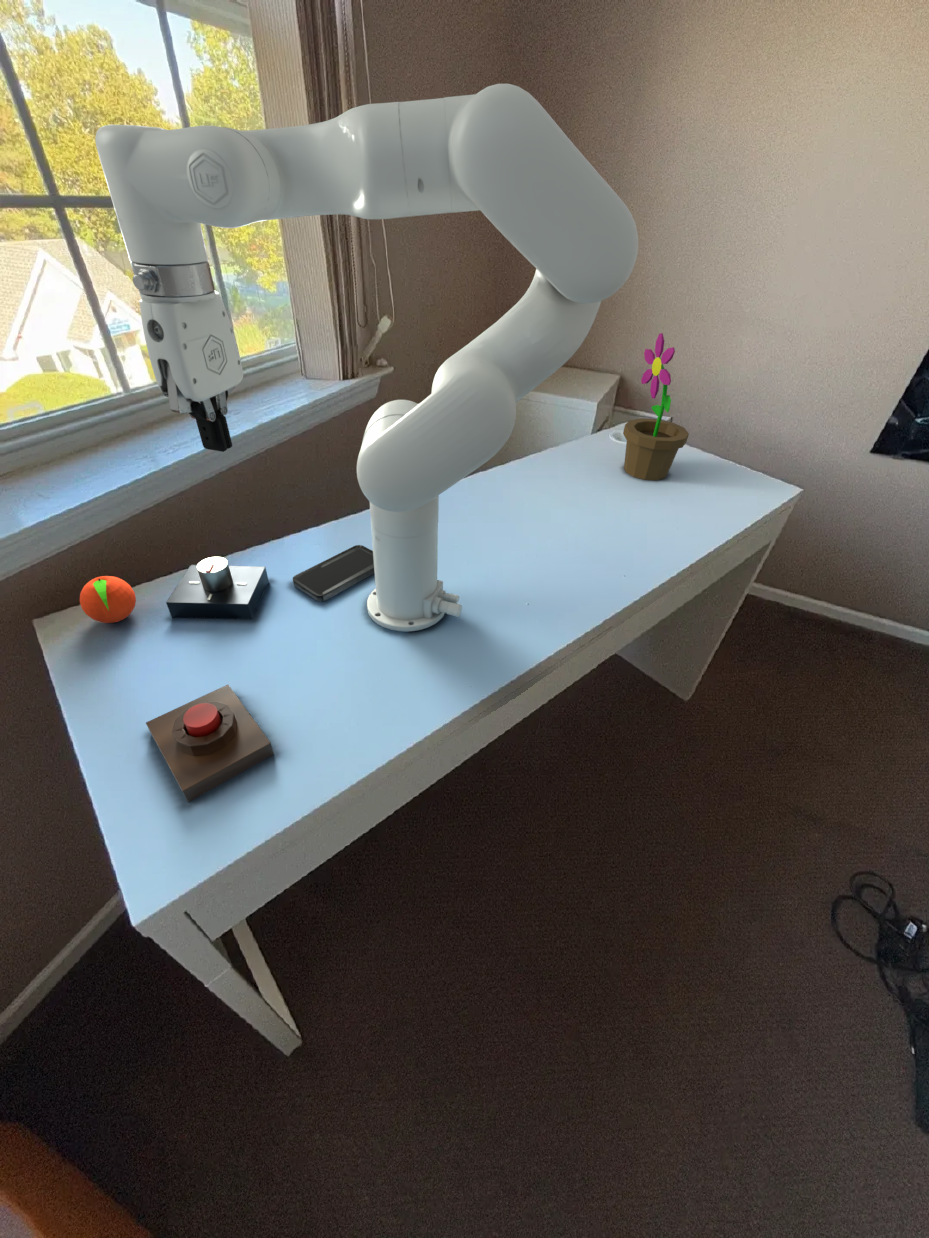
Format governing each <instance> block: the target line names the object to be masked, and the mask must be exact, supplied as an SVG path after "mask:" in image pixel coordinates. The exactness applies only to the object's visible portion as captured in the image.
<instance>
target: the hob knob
mask: <svg viewBox="0 0 929 1238" xmlns="http://www.w3.org/2000/svg"><path fill="white" fill-rule="evenodd" d="M196 565H197V570H198V573H199V576H200V579H201V583H202V586H203V588H204V589H205V590H207V591H211V592H217V591H222V590H225V589H227V588H228V587H230V586H231V585H232V583H233V579H232V576H231V572H230V568H229V566H230V564H229V562H228V560H227V559H226V558H225V557H222V556H211V557H207V558H204V559H202V560H201V561H199V562H198V563H197V564H196Z"/></svg>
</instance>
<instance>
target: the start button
mask: <svg viewBox="0 0 929 1238" xmlns="http://www.w3.org/2000/svg"><path fill="white" fill-rule="evenodd" d="M183 721H184V724H185V726H186V728H187V731H188V733H189V734H190V735H192V736H194V737H204V736H207V735H209V734H211V733H213V732H215V731H216V730H217V729H218V728H219V726H220V723H221V719H220V716H219V713H218V711H217V708H216V707H215V706H214V705H212V704H209V703H202V704H198V705H195V706H193V707H191V708H190V709H189V710H188V711H187V712H186V713H185V715H184V717H183Z"/></svg>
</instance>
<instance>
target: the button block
mask: <svg viewBox="0 0 929 1238" xmlns="http://www.w3.org/2000/svg"><path fill="white" fill-rule="evenodd" d="M202 703H209V704H212V705H214V706H215V707H216V708H217V711H218V713H219V716H220V719H221V723H220V726H219V728H218V729H217V730H216V731H215V732H213V733H211V734H209V735H207V736H204V737H194V736H192V735H190V734H189V733H188V731H187V728H186V726H185V724H184V721H183V717H184V715H185V713H186V712H187V711H188V710H189V709H190V708H191V707H193V706H195V705H198V704H202ZM145 725H146V727H147V729H148V731H149V733H150V735H151V736H152V739H153V741H154V742H155V744H156V746H157V749H159V751H160V753H161V755H162V757H163V759H164V760H165V762H166V765H167V767H168V768H169V770H170V772H171V774H172V775H173V778H174V779H175V781H176V783H177V785H178V787H179V789H180V790H181V792H182V795H183V797H184V798H185V800H186V802H187V803H190V802H192V801H193V800H195V799H197V798H199V797H200V796H202V795H204V794H206V793H208V792H210V791H211V790H213V789H215V788H216V787H218V786H221V785H223V784H224V783H225V782H228V781H229V780H231V779H232V778H234V777H236V776H238V775H240V774H242V773H243V772H245V771H247V770H249V769H251V768H252V767H254V766H256V765H258V764H260V763H261V762H263V761H265V760H266V759H268V758H271V757H272V756H274V755H275V752H274V748H273V745H272V743H271V741H270V739H269V738H268V737H267V736H266V734H265V732H264V731H263V730H262V728H261V727H260V726H259V724H258V722H256V720H255V719H254V718H253V716H252V715H251V713H250V712H249V711H248V709H247V708H246V707H245V705H244V704H243V703H242V700H240V698H239V697H238V695H237V694H236V693H235V691H234V690H233V689H232V687H231V686H230V684H226V685H224V686H221V687H220V688H217V689H214V690H213V691H211V692H208V693H207V694H204V695H201V696H199V697H197V698H195V699H193V700H192V701H189V702H187V703H185V704H183V705H180V706H178V707H176V708H174V709H172V710H170V711H167V712H166V713H163V714H161V715H159V716H157V717H155V718H153V719H151V720H148V721H146V722H145Z"/></svg>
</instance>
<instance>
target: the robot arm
mask: <svg viewBox="0 0 929 1238" xmlns="http://www.w3.org/2000/svg"><path fill="white" fill-rule="evenodd" d="M94 139H95V140H94V141H95V146H96V151H97V155H98V157H99V162H100V165H101V169H102V172H103V175H104V178H105V182H106V186H107V189H108V192H109V195H110V198H111V203H112V205H113V209H114V212H115V215H116V219H117V223H118V225H119V226H118V227H119V229H120V232H121V235H122V238H123V242H124V245H125V249H126V252H127V255H128V260H129V261H130V266H131V269H132V272H133V276H132V283H133V285H134V287H135V288H136V289H137V290H138V293H139V297H140V299H139V300H138V301H139V310H140V318H141V324H142V330H143V335H144V340H145V344H146V348H147V353H148V357H149V362H150V365H151V368H152V371H153V375H154V379H155V380H156V383H157V386H158V388H159V391H160V392H161V394H162V395H163V396H164V397H166V398H168V403H169V409H170V411H171V412H172V413H178V414H188V415H189V416H190V418H191V419H194V420H195V422H196V426H197V429H198V433H199V436H200V437H199V438H200V441H201V444H202V447H203V448H204V450H210V451H216V452H222V453H224V452H226V451H228V450H229V449H231V448H232V447H233V442H232V438H231V434H230V430H229V426H228V421H227V417H226V416H227V415H228V413H229V412H228V411H229V410H228V402H227V401H228V397H229V395H230V394H231V393H232V392H233V391H234V390H235V389H236V387H237V386H238V385H239V384H240V383H241V382H242V381H243V379H244V369H243V364H242V359H241V355H240V352H239V348H238V344H237V341H236V337H235V334H234V329H233V327H232V323H231V320H230V318H229V315H228V312H227V309H226V307H225V304H224V301H223V299H222V297H221V294H220V293H219V291H216V288H215V284H214V278H213V274H212V270H211V269H212V268H211V265H210V261H209V257H208V252H207V247H206V243H205V238H204V233H203V229H202V225H205V226H209V227H210V226H211V227H215V228H221V229H236V228H241V227H246V226H249V225H251V224H253V223H254V224H255V223H258V222H265V221H272V220H282V219H291V218H292V219H293V218H301V217H313V216H326V215H327V216H328V215H329V216H330V215H331V216H332V215H346V216H353V217H357V218H360V219H363V220H364V219H365V220H391V219H398V218H399V219H400V218H407V217H408V218H409V217H418V216H419V217H421V216H432V215H441V214H453V213H454V214H455V213H464V212H466V213H467V212H475V211H476V212H477V211H480V212H481V213H482V215H484V217H486V218H487V220H488V221H489V222H490V223H491V224H492V225H493V226H494V228H495V229H496V230H498V232H499V233H501V235H502V236H503V237H504V238H505V239H506V240H507V241H508V242H509V243H510V244H511V245H512V246H513V247H514V248H515V249H516V250H517V251H518V252H519V253H520V254H521V255H522V256H523V257H524V258H525V259H526V260H527V261H528V262H529V263H530V264H531V265H532V266H533V267H534V268H535V273H534V276H533V278H532V281H531V283H530V285H529V287H528V288H527V290H526V291H525V293H524V295H522V297H521V298H520V299H519V300H518V301H517V302H516V304H514V305H513V306H512V307H511V308H510V309H509V310H508V311H507V312H506V313H504V314H503V315H502V316H501V317H500V318H499V319H498V320H497V321H495V322H494V323H493V324H492V325H490V326H489V327H488V328H487V329H485V330H484V331H483V332H481V333H480V334H479V335H478V336H476V337H475V338H474V339H472V340H471V341H470V342H469V343H468V344H466V345H465V346H463V347H462V348H461V349H459V350H458V351H457V352H455V353H454V354H452V355H451V356H450V357H448V358H447V359H445V360H444V362H442V364H441V365H440V366H439V367H438V369H437V371H436V373H435V375H434V377H433V381H432V386H431V393H430V394H429V395H428V396H426V398H424V399H423V400H422V401H421V402H419V403H417V402H415V401H412V400H408V399H395V400H391V401H388V402H386V403H384V404H382V405H381V406H380V407H378V409H377V410H376V411H374V413H373V414H372V415H371V417H370V419H369V420H368V422H367V425H366V427H365V430H364V434H363V436H362V439H361V440H362V441H361V446H360V449H359V451H358V452H359V453H358V456H357V460H356V478H357V482H358V485H359V488H360V490H361V492H362V494H363V496H364V497H365V498H366V499H367V500H368V502H369V514H370V530H371V531H370V532H371V545H372V551H373V559H374V572H375V573H374V582H375V583H374V585H375V588H374V589H373V590H372V591H371V592H370V593H369V595H368V597H367V601H366V609H367V613H368V615H369V618H370V619H371V620H372V621H373V622H374V623H376V624H377V625H378V626H381V627H383V628H385V629H388V630H391V631H396V632H416V631H422V630H424V629H427V628H431V627H432V626H434V625H436V624H437V623H438V622H440V621H441V620H442V619H443V618H444V616H445V614H447V615H448V616H453V617H457V618H459V617H460V616H461V615H462V609H463V605H462V604H460V603H459V602H460V595H458V594H454V593H449V592H446V590H444V581H443V580H439V579H438V556H439V555H438V553H439V552H438V549H439V548H438V546H439V545H438V543H439V511H440V510H439V509H440V507H439V505H440V504H439V502H440V501H439V499H440V498H439V497H440V495H441V494H443V493H444V492H445V491H447V490H449V489H450V488H452V487H453V486H454V485H456V484H458V482H460V481H461V480H463V479H465V478H466V477H467V476H469V475H470V474H471V473H473V472H474V471H476V470H477V469H479V468H480V467H482V466H483V465H484V464H486V463H487V462H489V460H491V459H492V458H493V457H494V456H495V455H497V454H498V453H499V451H501V449H502V448H503V447H504V446H505V445H506V443H507V442H508V440H509V439H510V437H511V435H512V433H513V431H514V429H515V424H516V421H517V403H518V402H520V401H521V400H522V399H524V397H526V396H527V395H528V394H529V393H530V392H532V391H534V390H535V389H536V388H537V387H538V386H540V385H541V384H542V383H543V382H544V381H546V380H547V379H548V378H550V377H551V376H552V375H553V374H554V373H556V372H557V371H558V370H559V369H560V368H561V367H563V366H564V365H565V364H566V363H567V362H568V361H569V360H570V359H571V358H572V357H573V356H574V355H575V353H576V352H577V351H578V350H579V349H580V347H581V346H582V345H583V343H584V342H585V340H586V338H587V336H588V334H589V332H590V331H591V328H592V326H593V324H594V322H595V319H596V317H597V315H598V313H599V309H600V307H601V303H602V301H604V300H607V299H608V298H610V297H612V296H613V295H614V294H616V293H617V292H618V291H619V290H620V289H621V288H622V287H623V286H624V285H625V283H626V282H627V281H628V279H629V278H630V276H631V274H632V272H633V270H634V268H635V265H636V261H637V258H638V253H639V234H638V229H637V225H636V221H635V219H634V217H633V214H632V212H631V211H630V209H629V208H628V206H627V205H626V204H625V202H624V201H623V199H621V197H620V196H619V195H618V193H616V192H615V190H614V189H613V187H611V186H610V184H609V183H608V182H607V181H606V179H604V177H603V176H602V175H601V174H600V173H599V172H598V171H597V169H595V167H594V166H593V165H592V164H591V163H590V162H589V160H588V159H587V158H586V157H585V155H583V153H582V152H581V151H580V150H579V148H578V147H577V146H576V145H575V144H574V142H572V140H571V139H570V138H569V137H568V136H567V134H566V133H565V132H564V131H563V129H562V128H561V127H560V126H559V125H558V124H557V123H556V121H555V120H554V119H553V118H552V116H551V115H550V113H548V111H546V109H545V108H544V107H543V105H541V103H540V102H539V101H538V100H537V99H536V98H535V97H534V96H533V95H532V94H531V93H530V92H529V91H527V90H525V89H523V88H522V87H520V86H518V85H515V84H511V83H495V84H492V85H489V86H486V87H484V88H483V89H481V90H480V91H479V92H477V93H474V94H463V95H455V96H454V95H453V96H444V97H438V98H429V99H428V98H427V99H417V100H408V101H407V100H405V101H392V102H379V103H367V104H362V105H359V106H356V107H352V108H350V109H348V110H346V111H344V112H343V113H341V114H339V115H338V116H336V117H333V118H331V119H328V120H325V121H321V122H315V123H310V124H303V125H295V126H286V127H276V128H275V127H274V128H265V129H263V128H262V129H250V130H241V129H237V128H231V127H223V126H218V125H196V126H195V125H194V126H188V127H182V128H174V129H166V128H162V127H157V126H146V125H135V124H134V125H133V124H106V125H103V126H100V127H99V128H98V129H97V130H96V133H95V138H94Z"/></svg>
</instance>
